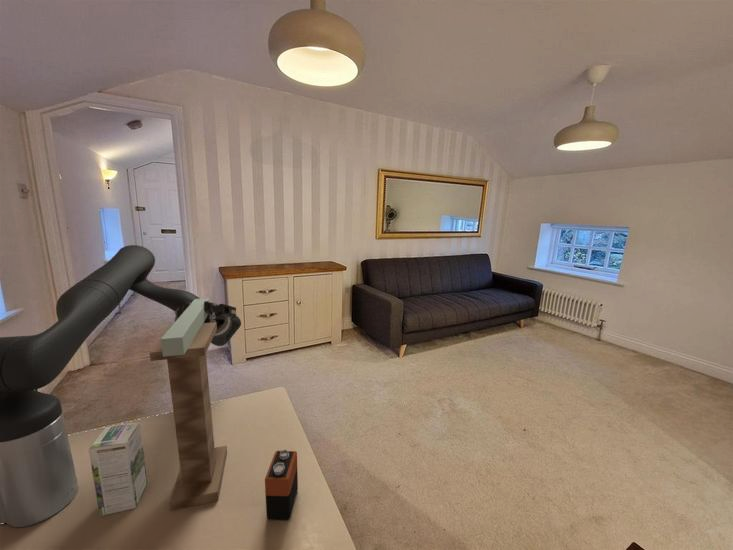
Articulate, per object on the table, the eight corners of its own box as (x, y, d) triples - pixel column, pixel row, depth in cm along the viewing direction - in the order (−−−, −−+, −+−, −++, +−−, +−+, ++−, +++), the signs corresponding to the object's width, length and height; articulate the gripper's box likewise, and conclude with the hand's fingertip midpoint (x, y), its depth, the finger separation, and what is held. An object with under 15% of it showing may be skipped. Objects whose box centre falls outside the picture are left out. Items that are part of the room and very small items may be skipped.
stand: (171, 511, 56) (149, 352, 49) (188, 460, 67) (172, 325, 60) (218, 500, 58) (204, 347, 51) (227, 452, 69) (216, 322, 63)
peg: (162, 356, 48) (160, 339, 47) (195, 311, 68) (194, 299, 68) (184, 354, 49) (182, 337, 48) (210, 310, 69) (209, 298, 69)
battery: (265, 521, 55) (263, 475, 52) (277, 487, 61) (275, 445, 59) (289, 522, 55) (288, 476, 52) (298, 488, 61) (297, 446, 59)
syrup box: (114, 489, 60) (103, 426, 57) (149, 482, 61) (140, 420, 58) (99, 517, 54) (85, 449, 51) (137, 508, 56) (126, 442, 53)
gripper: (183, 307, 78) (159, 290, 62) (241, 304, 82) (232, 287, 66) (182, 337, 76) (156, 327, 60) (241, 332, 80) (232, 321, 64)
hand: (196, 306), depth 63 cm, fingers closed on peg, 3 cm apart
